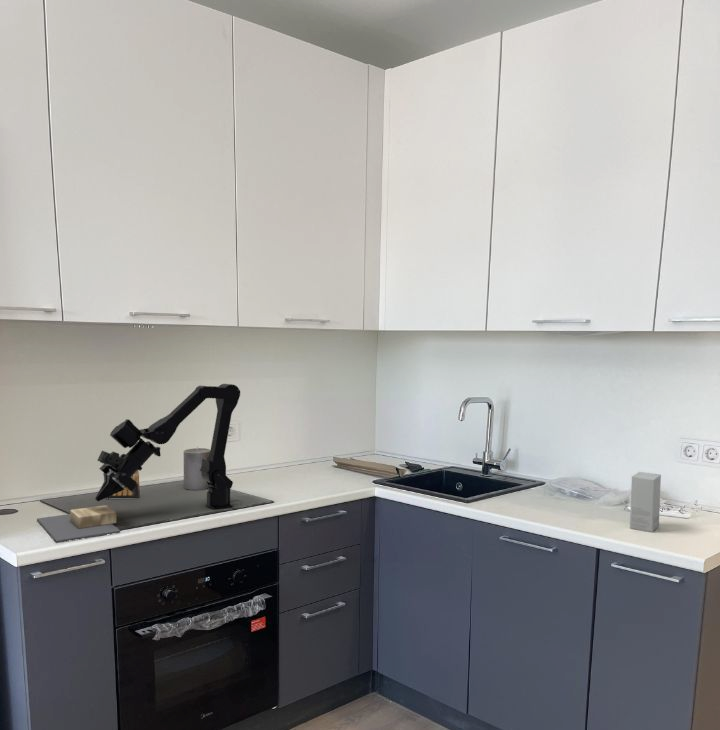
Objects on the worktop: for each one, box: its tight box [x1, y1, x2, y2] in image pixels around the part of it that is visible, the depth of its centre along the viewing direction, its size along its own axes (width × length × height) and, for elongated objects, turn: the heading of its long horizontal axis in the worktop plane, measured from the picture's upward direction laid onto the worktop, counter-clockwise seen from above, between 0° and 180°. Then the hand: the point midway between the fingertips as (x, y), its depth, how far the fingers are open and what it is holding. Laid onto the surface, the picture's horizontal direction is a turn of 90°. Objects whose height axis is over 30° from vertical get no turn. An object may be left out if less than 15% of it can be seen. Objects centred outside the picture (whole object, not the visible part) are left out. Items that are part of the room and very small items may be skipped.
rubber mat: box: [36, 513, 121, 544], centre depth 176 cm, size 16×26×1 cm, turn 37°
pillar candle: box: [183, 446, 211, 491], centre depth 227 cm, size 10×10×15 cm
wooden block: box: [69, 504, 117, 528], centre depth 178 cm, size 3×10×10 cm
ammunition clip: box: [107, 470, 141, 500], centre depth 210 cm, size 11×2×12 cm, turn 96°
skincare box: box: [629, 471, 662, 533], centre depth 182 cm, size 8×7×16 cm
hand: (96, 500), depth 179 cm, fingers closed
